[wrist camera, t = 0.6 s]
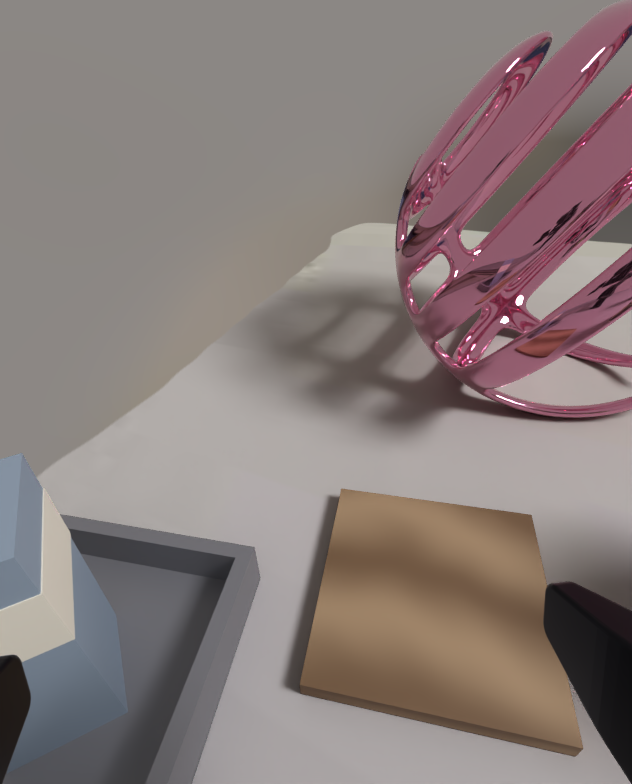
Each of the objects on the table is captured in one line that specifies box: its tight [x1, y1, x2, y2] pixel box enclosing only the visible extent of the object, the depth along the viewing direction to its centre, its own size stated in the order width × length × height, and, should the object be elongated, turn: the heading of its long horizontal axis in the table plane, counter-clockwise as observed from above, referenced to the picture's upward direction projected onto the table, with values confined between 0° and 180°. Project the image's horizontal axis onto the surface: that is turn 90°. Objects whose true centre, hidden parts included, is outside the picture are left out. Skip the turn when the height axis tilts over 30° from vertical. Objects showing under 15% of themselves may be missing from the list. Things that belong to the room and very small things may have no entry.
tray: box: [3, 514, 260, 784], centre depth 21 cm, size 15×15×3 cm
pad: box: [300, 489, 583, 756], centre depth 24 cm, size 12×12×1 cm
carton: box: [0, 453, 128, 774], centre depth 18 cm, size 5×5×12 cm
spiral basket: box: [395, 0, 632, 418], centre depth 34 cm, size 28×28×27 cm
